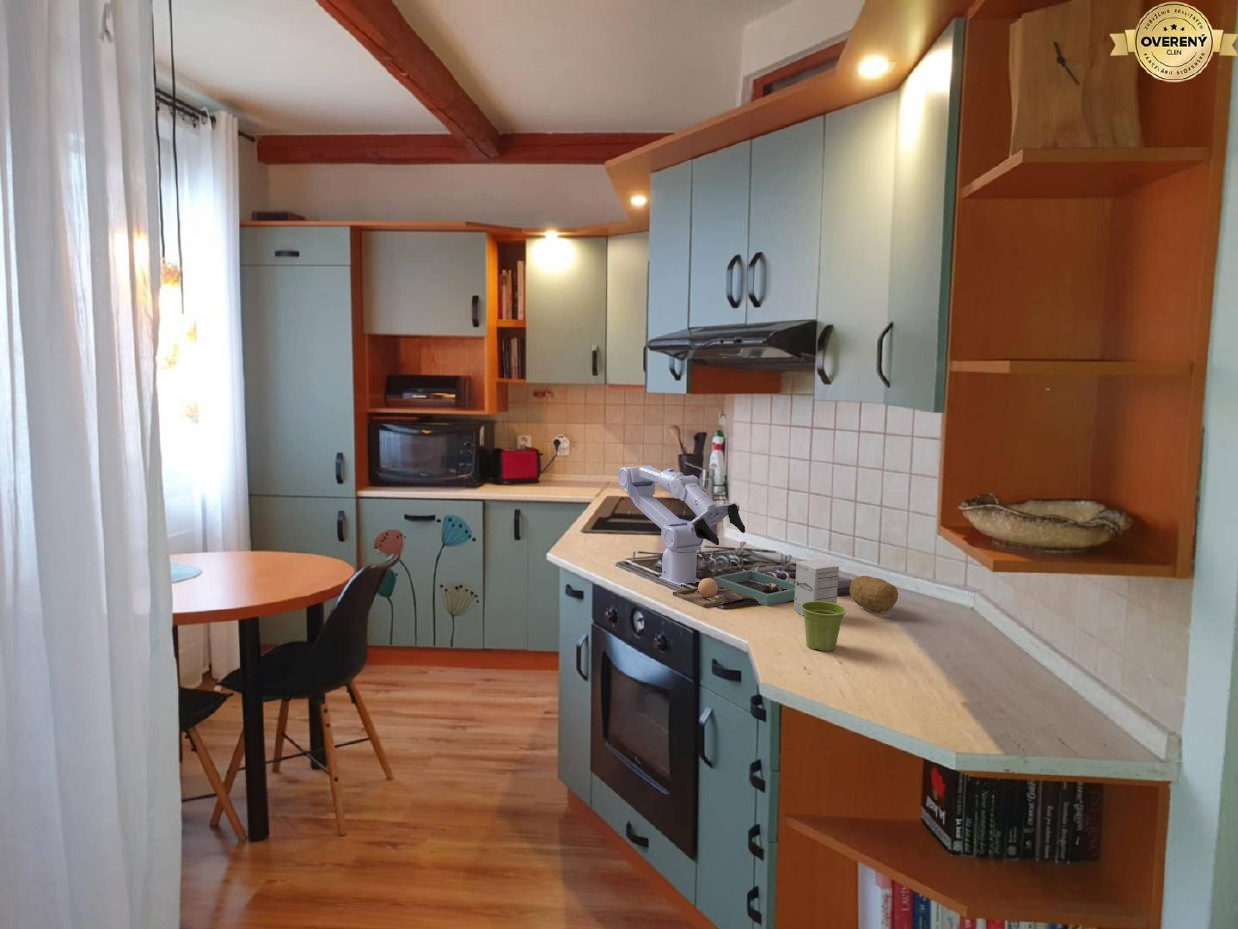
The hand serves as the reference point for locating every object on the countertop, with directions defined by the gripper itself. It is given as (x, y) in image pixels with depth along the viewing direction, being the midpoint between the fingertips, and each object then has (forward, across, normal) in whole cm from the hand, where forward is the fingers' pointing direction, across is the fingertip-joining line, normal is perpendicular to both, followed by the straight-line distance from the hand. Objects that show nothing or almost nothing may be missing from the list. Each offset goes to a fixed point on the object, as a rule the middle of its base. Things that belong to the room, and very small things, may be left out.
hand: (731, 536), depth 205 cm
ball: (+3, -10, +14) cm, 17 cm away
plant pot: (+39, -2, 0) cm, 39 cm away
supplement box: (+23, +8, +13) cm, 28 cm away
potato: (+26, +23, +17) cm, 39 cm away
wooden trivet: (+3, -10, +14) cm, 18 cm away
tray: (+5, +4, +20) cm, 21 cm away
